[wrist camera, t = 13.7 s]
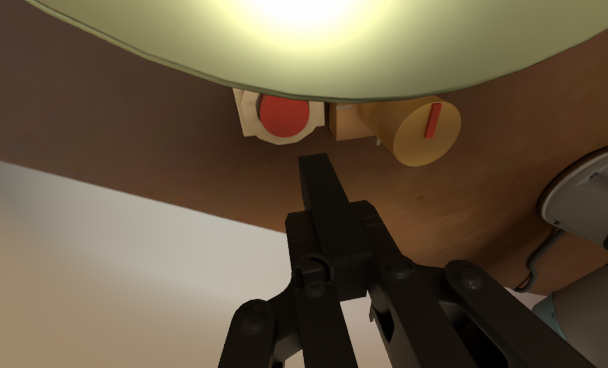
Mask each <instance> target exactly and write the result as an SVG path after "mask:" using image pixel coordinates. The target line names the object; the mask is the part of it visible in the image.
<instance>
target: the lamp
mask: <svg viewBox="0 0 608 368" xmlns="http://www.w3.org/2000/svg"><path fill="white" fill-rule="evenodd" d="M25 1H26V2H28V3H30V4H32V5H33V6H35V7H37V8H39V9H40V10H42V11H44V12H46V13H47V14H49V15H51V16H53V17H55V18H57V19H59V20H61V21H64V22H66V23H68V24H70V25H72V26H74V27H77V28H79V29H81V30H83V31H85V32H87V33H90V34H92V35H94V36H96V37H98V38H101V39H103V40H105V41H107V42H109V43H111V44H114V45H116V46H118V47H120V48H122V49H124V50H127V51H129V52H131V53H133V54H135V55H137V56H140V57H142V58H144V59H146V60H149V61H151V62H154V63H157V64H160V65H163V66H166V67H169V68H172V69H175V70H178V71H181V72H184V73H187V74H190V75H193V76H196V77H199V78H202V79H205V80H208V81H211V82H214V83H217V84H220V85H223V86H226V87H231V88H236V89H241V90H246V91H251V92H255V93H260V94H265V95H270V96H275V97H280V98H285V99H289V100H301V101H315V102H329V103H344V104H358V103H373V102H388V101H403V100H411V99H416V98H421V97H426V96H431V95H436V94H441V93H446V92H451V91H456V90H461V89H466V88H469V87H472V86H475V85H478V84H481V83H484V82H487V81H490V80H493V79H496V78H500V77H503V76H506V75H509V74H512V73H515V72H518V71H521V70H524V69H526V68H528V67H530V66H533V65H535V64H537V63H539V62H541V61H544V60H546V59H548V58H550V57H553V56H555V55H557V54H559V53H561V52H564V51H566V50H568V49H570V48H572V47H575V46H577V45H579V44H581V43H584V42H586V41H587V40H589V39H591V38H593V37H594V36H596V35H598V34H600V33H602V32H603V31H605V30H607V29H608V0H25Z"/></svg>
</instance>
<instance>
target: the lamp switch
mask: <svg viewBox="0 0 608 368" xmlns="http://www.w3.org/2000/svg"><path fill="white" fill-rule="evenodd" d="M259 109H260V119H261V122H262V124H263V126H264V128H265V129H266V130H267V131H268V132H269V133H271V134H272V135H274V136H277V137H282V138H287V137H292V136H294V135H297V134H298V133H300V132H301V131H302V130H303V129H304V128H305V126H306V125H307V123H308V120H309V106H308V104H307V102H306V101H301V100H289V99H285V98H280V97H275V96H270V95H265V94H262V96H261V99H260V103H259Z"/></svg>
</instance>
